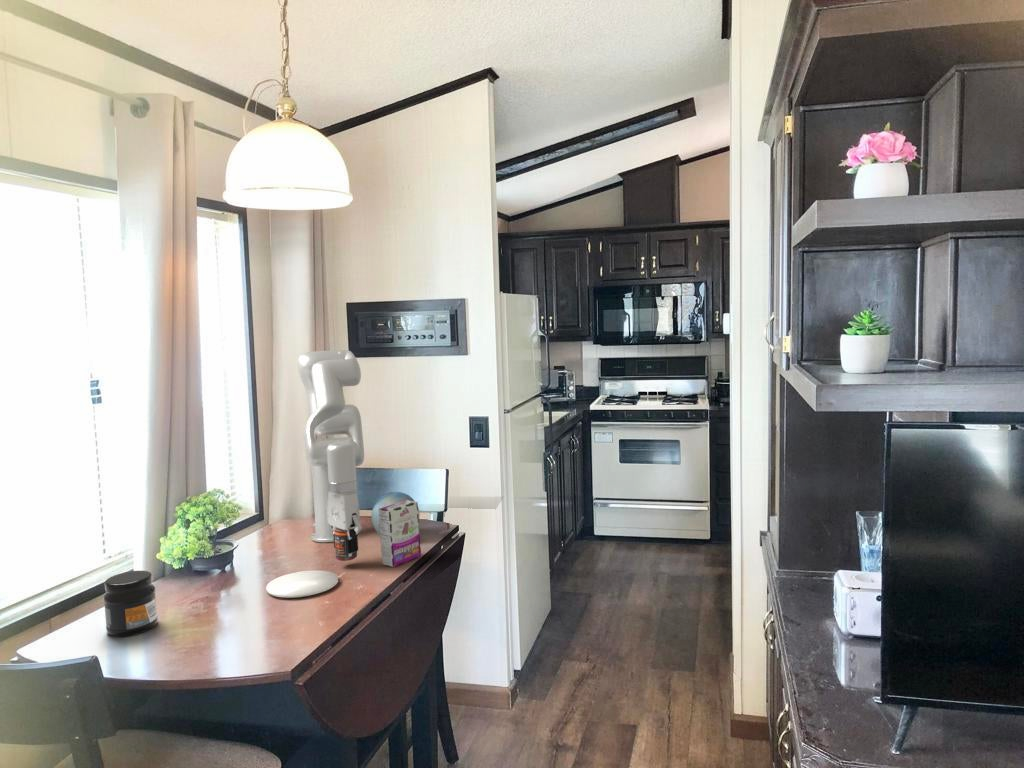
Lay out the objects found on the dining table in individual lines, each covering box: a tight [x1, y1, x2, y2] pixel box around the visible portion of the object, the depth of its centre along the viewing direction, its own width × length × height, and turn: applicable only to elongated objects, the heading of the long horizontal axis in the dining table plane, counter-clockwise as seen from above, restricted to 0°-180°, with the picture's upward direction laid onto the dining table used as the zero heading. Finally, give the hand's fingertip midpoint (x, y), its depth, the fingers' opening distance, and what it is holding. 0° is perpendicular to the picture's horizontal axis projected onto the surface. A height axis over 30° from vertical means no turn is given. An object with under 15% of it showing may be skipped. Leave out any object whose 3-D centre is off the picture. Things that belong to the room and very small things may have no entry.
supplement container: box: [102, 570, 159, 637], centre depth 163 cm, size 10×10×12 cm
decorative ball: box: [371, 491, 421, 536], centre depth 225 cm, size 15×15×15 cm
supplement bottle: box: [334, 525, 358, 562], centre depth 200 cm, size 6×6×11 cm
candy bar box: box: [379, 500, 422, 568], centre depth 203 cm, size 11×5×16 cm, turn 143°
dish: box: [265, 569, 339, 599], centre depth 186 cm, size 18×18×1 cm
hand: (346, 548), depth 201 cm, fingers closed on supplement bottle, 6 cm apart
